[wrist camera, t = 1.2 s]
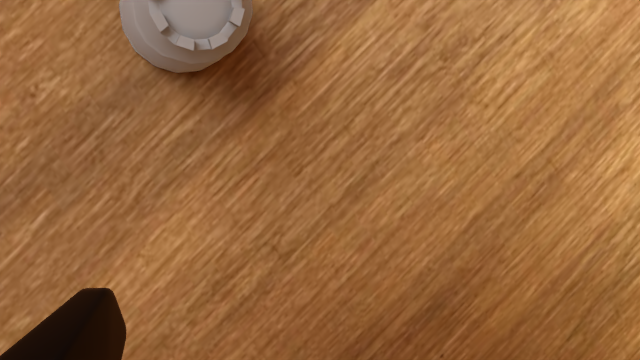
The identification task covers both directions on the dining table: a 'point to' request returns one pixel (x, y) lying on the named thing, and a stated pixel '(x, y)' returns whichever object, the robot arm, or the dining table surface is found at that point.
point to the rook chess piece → (185, 30)
